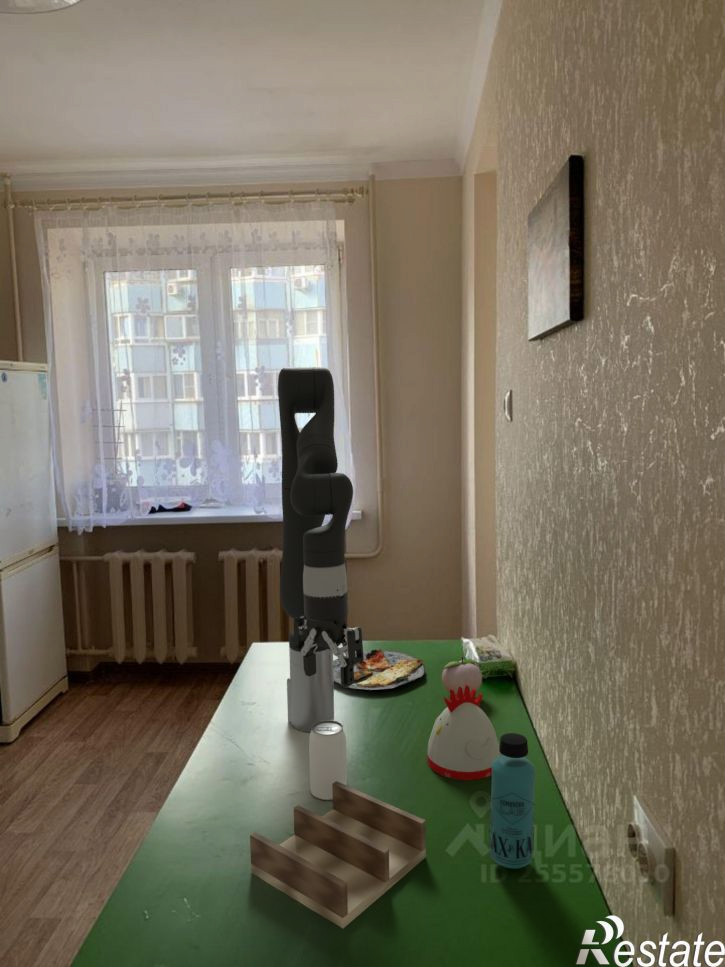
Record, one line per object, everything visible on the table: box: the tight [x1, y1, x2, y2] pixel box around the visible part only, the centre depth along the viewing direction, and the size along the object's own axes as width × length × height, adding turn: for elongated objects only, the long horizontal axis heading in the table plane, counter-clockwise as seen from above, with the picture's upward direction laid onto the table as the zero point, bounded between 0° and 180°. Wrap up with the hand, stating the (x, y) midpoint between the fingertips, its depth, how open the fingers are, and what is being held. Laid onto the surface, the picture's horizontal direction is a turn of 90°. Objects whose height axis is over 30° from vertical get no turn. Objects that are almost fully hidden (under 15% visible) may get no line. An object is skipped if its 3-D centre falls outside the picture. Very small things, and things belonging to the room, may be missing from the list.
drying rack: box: [249, 781, 427, 929], centre depth 108 cm, size 18×19×6 cm
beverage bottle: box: [488, 732, 536, 869], centre depth 107 cm, size 6×7×20 cm
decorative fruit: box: [441, 656, 483, 697], centre depth 166 cm, size 9×8×10 cm
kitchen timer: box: [426, 685, 501, 781], centre depth 138 cm, size 14×14×15 cm
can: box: [308, 720, 348, 801], centre depth 128 cm, size 6×6×12 cm
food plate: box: [333, 648, 426, 692], centre depth 182 cm, size 25×23×4 cm
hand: (328, 680), depth 127 cm, fingers open, 8 cm apart
